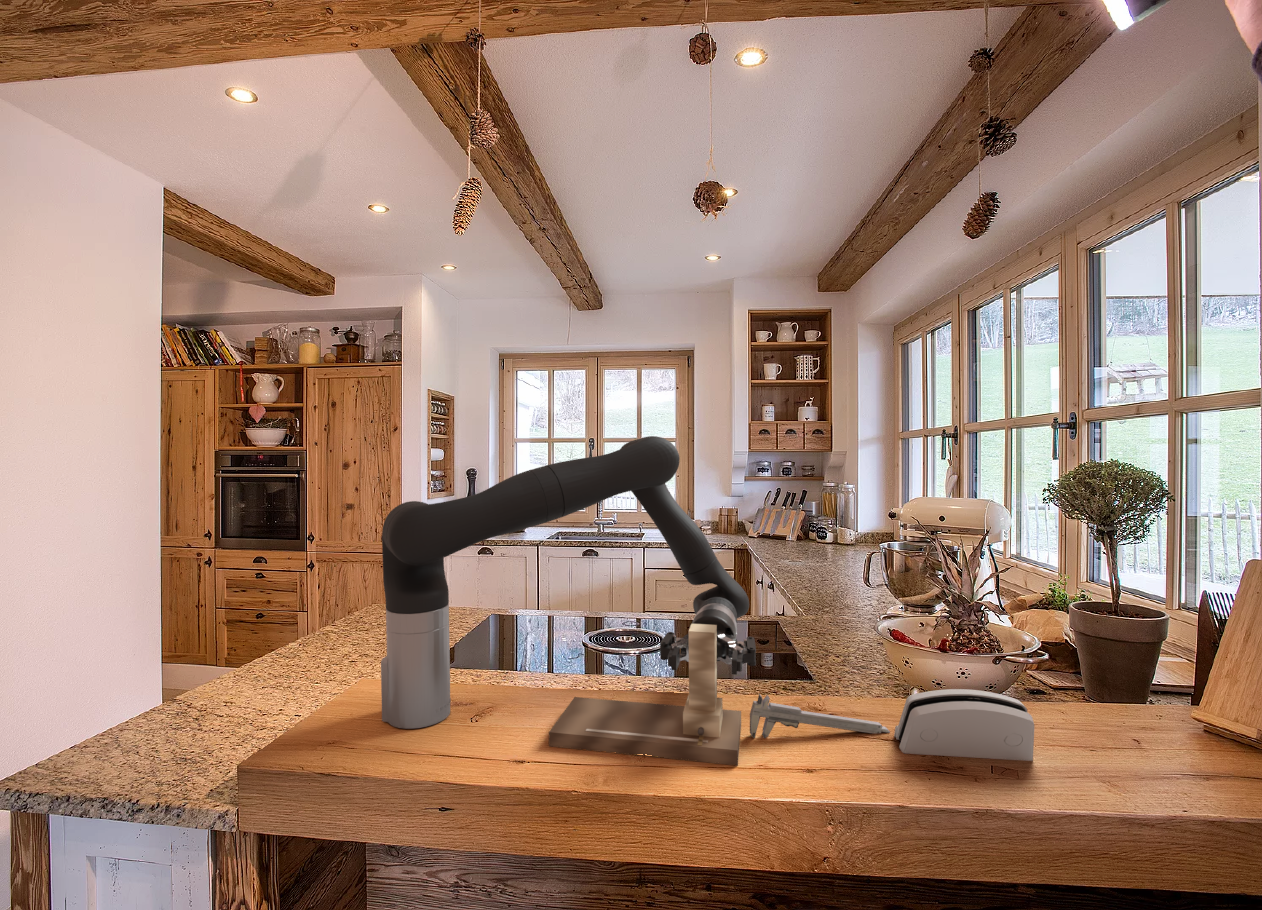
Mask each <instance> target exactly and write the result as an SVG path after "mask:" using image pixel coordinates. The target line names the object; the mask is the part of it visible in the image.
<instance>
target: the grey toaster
mask: <svg viewBox="0 0 1262 910" xmlns="http://www.w3.org/2000/svg"><path fill="white" fill-rule="evenodd" d="M893 737H894V738H896V740H899V741H900V743H899V746H898V748H899V750H900V751H901V753H903V754H908V755H909V754H911V755H925V756H927V755H928V756H942V757H943V756H945V757H957V758H958V757H961V758H962V757H963V758H973V759H974V758H976V759H977V758H978V759H979V758H980V759H994V760H1009V761H1023V762H1024V761H1025V762H1026V761H1027V762H1028V761H1029V762H1033V761H1034V748H1035V747H1034V744H1035V743H1034V742H1035V723H1034V719H1033V716H1032V715H1031V713H1029V712H1028V708H1027V707H1026V706H1025V705H1024V703H1022V702H1021V701H1020V699H1017V698H1013V697H1010V696H1009V695H1008V696H1007V695H1004V694H1000V693H996V692H991V691H987V690H986V691H985V690H980V689H979V690H978V689H968V688H967V689H966V688H964V689H963V688H950V689H949V688H948V689H937V690H935V689H934V690H930V691H922V692H918V693H914V694H911V695H909V696H908V697H907V698H906V700H905V702H904V706H903V709H902V712H901V715H900V718H899V723H898V724H897V725H895V728H894V736H893Z"/></svg>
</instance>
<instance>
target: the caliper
mask: <svg viewBox="0 0 1262 910" xmlns="http://www.w3.org/2000/svg"><path fill="white" fill-rule="evenodd" d="M770 699H771V698H770V697H769V695H768V694H767V695H766V696H764V698H763V697H762V695H761V694H760V693H758V696H757V700H752V701H753V702H752V704H751V708H750V711H749V734H750V736H751V737H752V738H753V739H756V735H757V731H758V728H759V723H760V720H761V718H764V722H763V727H762V733H761V736H762V735H763V736H762V738H763V737H764V738H763V739H766V737H769V735H771V732H772V730H773V728H774V726H775V725H776V723H780V724H781V725H784V726H785V727H792V728H795V729H798V728H799V724H803V725H805V724H806V725H811V726H812V725H813V726H819V727H826V728H832V729H833V728H834V729H840V730H845V731H851V732H856V733H857V732H859V733H865V734H873V735H875V734H881V733H886V734H887V733H888V734H889V733H891V731H890V730H889V729H888V728H887V726H884V725H882V724H881V723H880V722H877V721H872V720H866V719H860V718H852V717H846V716H839V715H834V714H825V713H821V712H820V713H819V712H812V711H806V710H802V709H801V708H800V707H799V706H794V705H792V706H791V705H786V704H783V703H782V704H781V703H775V702H770Z"/></svg>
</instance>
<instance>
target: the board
mask: <svg viewBox="0 0 1262 910" xmlns="http://www.w3.org/2000/svg"><path fill="white" fill-rule="evenodd" d="M684 708H685V705H676V704H664V703H652V702H651V703H650V702H640V701H639V702H638V701H627V700H626V701H625V700H615V699H604V698H603V699H602V698H593V697H581V696H580V697H579V696H574V697H573V699H572V700H571V701H570V702H569V704H568V705H567V707H566V708H565V709H564V711H563V712H562V713H561V715H560V716H559V717H558V719H557V721H555V723H554V724H553V725H552V727H551V728H550V730H549V731H548V747H553V748H563V749H573V750H582V749H586V750H585V751H591V750H594V751H593V752H601V751H606V752H605V753H611V752H616V753H615V754H621V753H623V754H622V755H630V754H643V755H645V754H647V755H652V756H658V757H657V758H660V757H664V758H663V759H670V760H671V759H672V760H681V761H689V762H700V763H709V764H710V763H711V764H721V765H727V766H728V765H729V766H739V757H740V756H739V753H740V744H741V743H740V742H741V731H742V710H736V709H735V710H734V709H723V719H722V725H721V732H720V738H718V737H707V736H697V735H686V734H683V711H684Z"/></svg>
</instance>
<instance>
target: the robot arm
mask: <svg viewBox="0 0 1262 910" xmlns="http://www.w3.org/2000/svg"><path fill="white" fill-rule="evenodd" d="M679 467H680V453H679V451H678V449H677V447H676V446H675V445H674V444H673V443H672V442H671V441H670V440H668V439H667V438H664V437H660V436H657V435H656V436H655V435H653V436H652V435H651V436H650V435H649V436H645V437H642V438H638V439H634V440H630V441H629V442H626V443H624V444H623V445H622V446H621V447H620V448H619V449H617V450H615V451H612V452H609V453H605V454H601V455H596V456H595V455H594V456H590V457H583V458H582V457H581V458H576V459H570V460H565V461H559V462H555V463H550V464H546V465H543V466H539V467H536V468H532V469H529V470H526V471H522V472H519V473H517V474H514V475H512V476H510V477H507V478H506V479H504V480H502V481H499V482H498V483H496V484H494V485H492V486H490V487H489V488H486V489H485V490H482V491H481V492H477V493H475V494H473V495H469V496H466V497H461V498H456V499H451V500H448V501H447V500H446V501H443V502H442V501H441V502H435V503H426V502H424V501H417V500H416V501H415V500H412V501H406V502H402V503H400V504H398V505H397V506H395V507H394V508H393V509H391V511H389V513H388V514H387V516H386V517H385V519H384V522H383V525H382V531H381V548H382V553H381V554H382V576H383V579H382V580H383V591H384V599H385V628H386V630H385V631H386V633H385V634H386V656H384V657H383V658H381V660H380V683H381V684H380V687H381V689H380V690H381V722H385V723H388V724H389V725H390V726H392V727H394V728H397V729H398V728H399V729H404V730H405V729H407V730H408V729H420V728H426V727H430V726H434V725H435V724H439V723H440V722H442V721H444V720H445V719H446V718H448V716H450V714H451V700H452V699H451V666H450V665H451V663H450V662H451V660H450V659H451V657H450V655H451V654H450V645H451V644H450V603H449V602H450V601H449V599H450V596H449V594H450V593H449V592H450V591H449V585H448V582H447V578H446V572H445V562H444V561H445V560H444V558H446V557H449V556H451V555H453V554H455V553H457V552H460V551H461V550H462V551H463V550H464V549H467V548H468V547H471V546H474V545H475V544H478V543H481V542H482V541H486V540H489V539H491V538H494V537H498V536H503V535H507V534H512V533H515V532H519V531H522V530H525V529H528V528H532V527H536V526H539V525H542V524H547V523H548V522H552V521H554V520H555V521H556V520H557V519H561V518H563V517H566V516H569V515H572V514H574V513H577V512H579V511H581V510H584V509H587V508H589V507H592V506H594V505H596V504H598V503H601V502H602V501H605V500H608V499H609V498H612V497H615V496H617V495H619V494H620V495H621V494H624V493H627V492H631V493H632V494H633V495H634V497H635V498H636V499H637V501H638V502H639V503H640V505H641V506H642V507H643V509H644V510H645V512H646V513H647V515H648V517H650V518H651V520H652V522H653V523H654V525H655V526H656V528H657V529H658V530H659V533H660V534H661V536H662V537H663V539H664V540H665V542H666V544H667V546H668V548H669V549H670V550H671V553H672V555H673V557H674V558H675V560H676V562H677V564H678V566H679V568H680V569H681V571H682V572H681V573H682V574H683V576H684V577H685V579H686V580H687V582H688V584H690V585H693V586H701V585H707V584H708V585H709V584H711V585H712V584H713V585H715V586H714V587H711V588H710V589H707V590H705V591H702V592H700V593H699V594H697V595H696V596H695V597H694V599H693V601H692V602H693V603H692V605H693V606H692V607H693V611H694V614H695V615H694V617H693V618H692V619H693V620H692V623H691V624H708V625H717V663H718V662H723V663H724V664H726V665H731V675H736V676H737V675H738V672H742V671H743V667H744V664H747V666H749V667H755V666H756V665H757V660H756V652H757V649H756V648H757V646H756V641H755V639H756V638H755V637H753V636H747V637H746V638H745V639H743V641H742V640H741V641H739V640H737V636H738V627H737V626H738V625H737V622H738V619H739V618H741V617H743V616H745V615H746V614H748V611H749V608H750V600H749V599H750V598H749V596H748V595H747V592H746V591H745V589H744V588H743V587H742V585H740V584H739V582H737V581H736V580H735V579H734V578H733V577H732V576H731V575H730V574H729V573H728V571H727V570H726V569H725V568H724V567H723V565H722V564H721V562H720V561H719V560H718V557H717V556H716V554H715V552H714V550H713V548H712V546H711V544H710V542H709V541H708V539H707V537H706V535H705V534H704V533H703V531H702V529H701V528H700V527H699V525H697V523H695V521H694V520H693V519H692V518H691V517H690V515H688V513H686V511H685V510H684V509H683V508H682V507H681V506H680V505H679V503H678V502H677V501H676V499H675V498H674V497H673V495H672V494H671V492H670V491H669V488H668V487H667V485H666V483H668V482H669V481H671V480H672V478H673V477H674V476H675V475H676V473H677V472H678V469H679ZM659 652H660V653H659V654H660V658H659V659H660V660H661V661H662V660H663V661H667V666H668V667H670V668H671V671H678V668H679V665H680V662H681V661H685V662H688V663H689V631H688V633H687V634H685V635H684V636H683V637H677V636H676V635H675V632H673V631H668V632H666V633H665V635H664V636H663V638H662V639H661V641H660V643H659Z"/></svg>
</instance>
